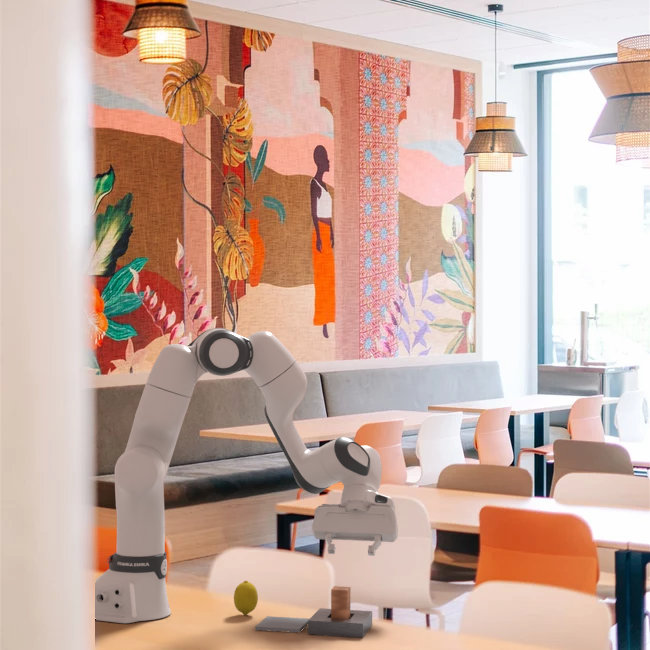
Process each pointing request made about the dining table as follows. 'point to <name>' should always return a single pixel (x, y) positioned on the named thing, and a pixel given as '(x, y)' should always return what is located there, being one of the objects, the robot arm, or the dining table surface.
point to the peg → (340, 602)
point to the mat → (282, 624)
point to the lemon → (245, 597)
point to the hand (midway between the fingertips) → (351, 553)
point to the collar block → (340, 624)
